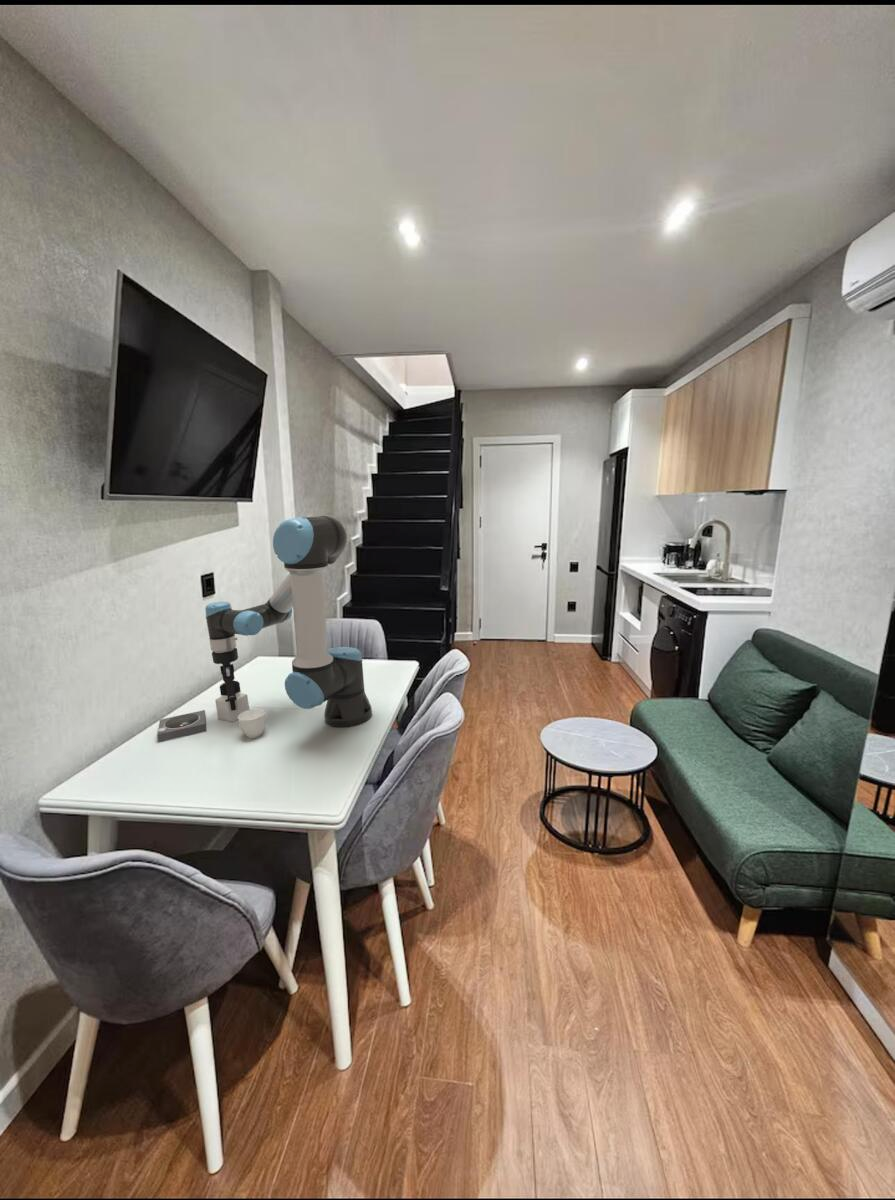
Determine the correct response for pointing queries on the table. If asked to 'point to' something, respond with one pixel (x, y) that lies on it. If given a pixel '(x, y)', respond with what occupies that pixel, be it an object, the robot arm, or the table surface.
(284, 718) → the table surface
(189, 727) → the grey square dish
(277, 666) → the table surface
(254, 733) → the cup
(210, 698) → the table surface
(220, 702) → the medicine bottle
